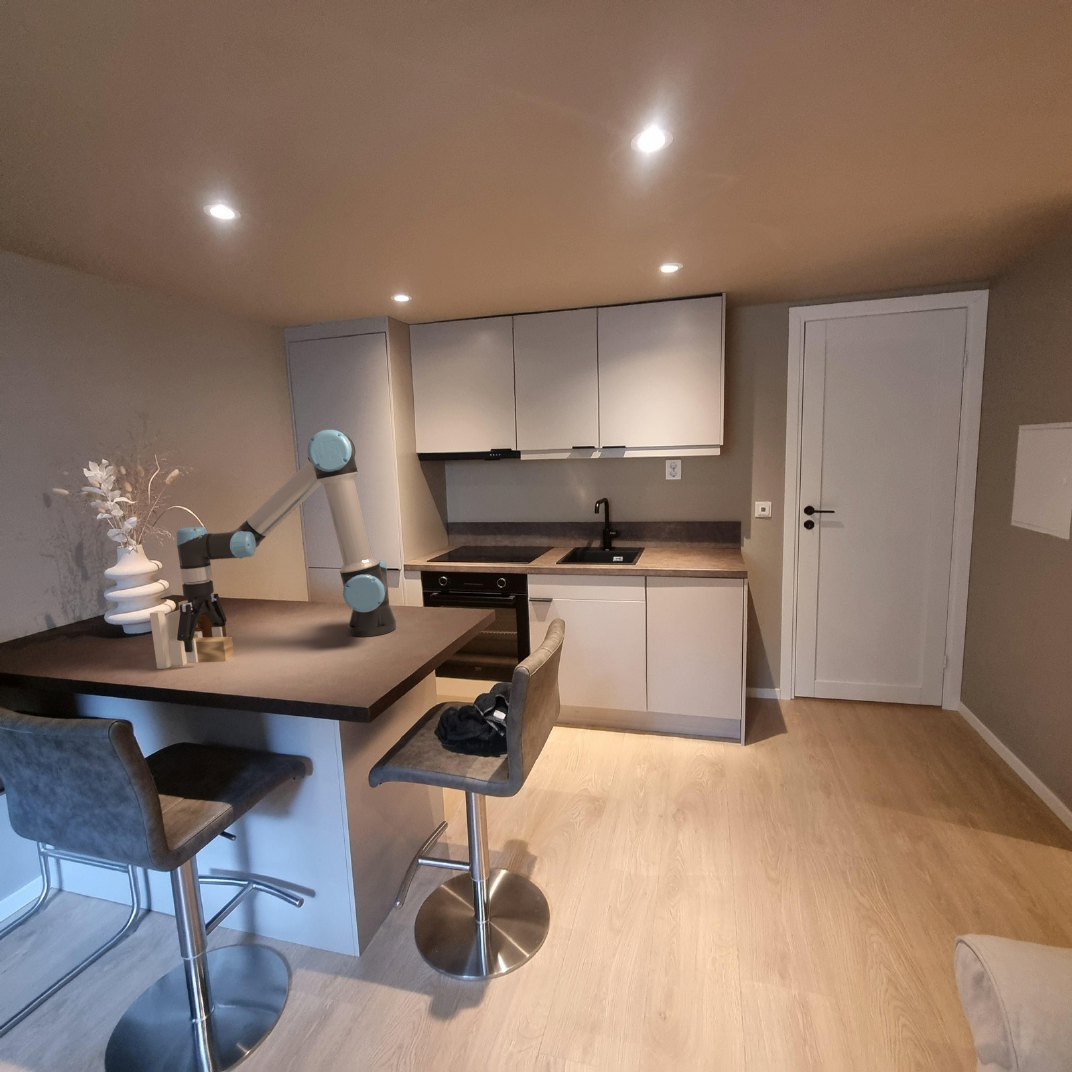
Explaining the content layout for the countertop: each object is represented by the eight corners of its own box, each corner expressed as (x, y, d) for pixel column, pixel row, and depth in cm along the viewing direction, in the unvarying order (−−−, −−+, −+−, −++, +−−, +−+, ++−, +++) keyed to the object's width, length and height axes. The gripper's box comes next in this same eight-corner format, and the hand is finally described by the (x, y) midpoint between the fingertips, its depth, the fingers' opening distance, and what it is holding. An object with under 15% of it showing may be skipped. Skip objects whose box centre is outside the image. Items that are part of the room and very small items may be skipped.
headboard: (209, 651, 171) (203, 600, 169) (177, 668, 158) (170, 612, 155) (190, 651, 172) (183, 600, 170) (157, 668, 158) (149, 613, 156)
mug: (198, 649, 174) (195, 619, 173) (181, 647, 177) (177, 618, 175) (232, 637, 185) (228, 609, 184) (215, 636, 188) (211, 608, 186)
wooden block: (234, 656, 166) (231, 635, 165) (225, 661, 162) (223, 639, 161) (188, 657, 167) (185, 636, 166) (179, 662, 163) (176, 640, 162)
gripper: (210, 573, 173) (219, 642, 176) (154, 591, 150) (165, 670, 153) (234, 572, 173) (242, 641, 176) (181, 590, 149) (191, 669, 152)
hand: (206, 655), depth 164 cm, fingers open, 11 cm apart
